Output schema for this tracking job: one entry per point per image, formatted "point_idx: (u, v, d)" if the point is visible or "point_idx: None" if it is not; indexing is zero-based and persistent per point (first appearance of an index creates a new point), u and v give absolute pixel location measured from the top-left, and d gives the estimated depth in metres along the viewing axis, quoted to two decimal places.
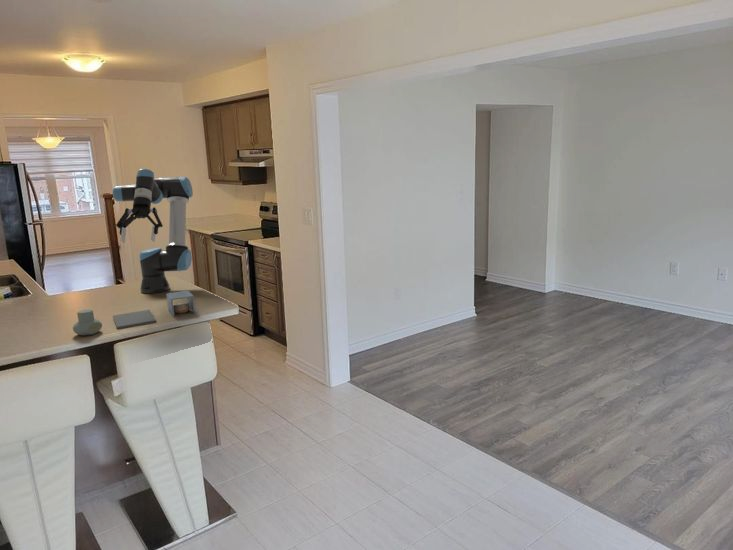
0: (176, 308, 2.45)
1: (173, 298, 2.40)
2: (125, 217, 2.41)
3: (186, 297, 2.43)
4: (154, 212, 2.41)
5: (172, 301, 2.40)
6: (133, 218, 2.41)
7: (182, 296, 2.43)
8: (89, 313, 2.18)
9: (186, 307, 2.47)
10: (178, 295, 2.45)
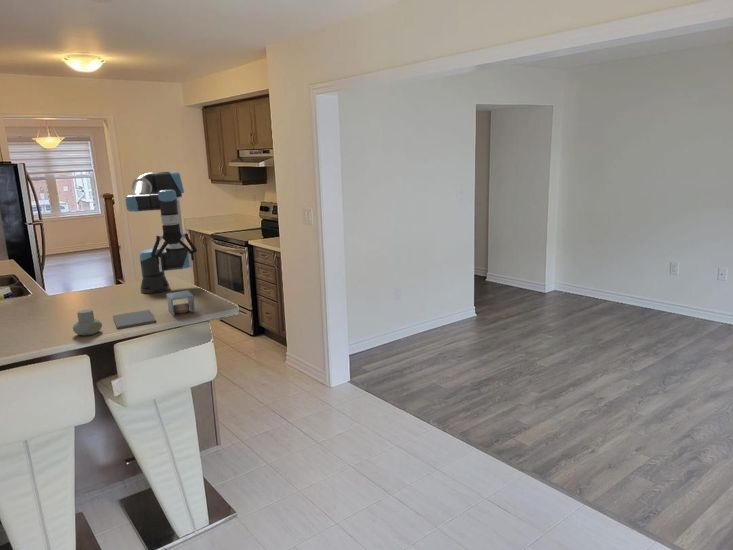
0: (176, 308, 2.45)
1: (173, 298, 2.40)
2: (157, 245, 2.38)
3: (186, 297, 2.43)
4: (188, 239, 2.43)
5: (172, 301, 2.40)
6: None
7: (182, 296, 2.43)
8: (89, 313, 2.18)
9: (186, 307, 2.47)
10: (178, 295, 2.45)
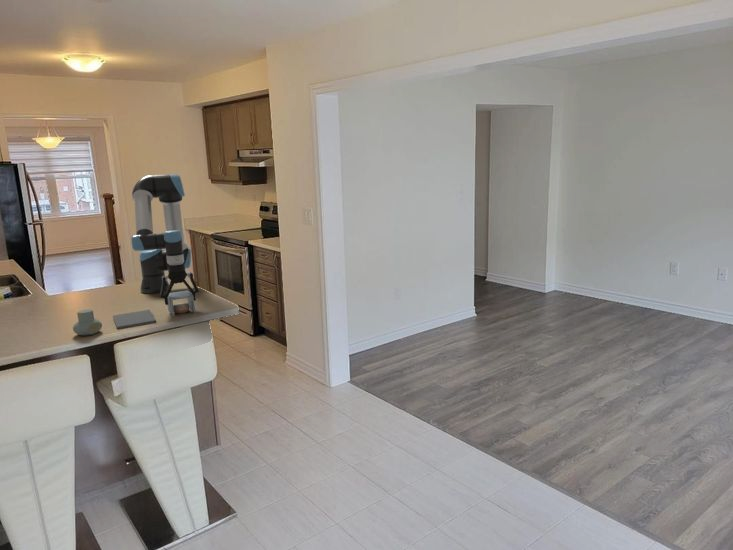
0: (176, 308, 2.45)
1: (173, 298, 2.40)
2: (164, 285, 2.42)
3: (186, 297, 2.43)
4: (192, 279, 2.47)
5: (172, 301, 2.40)
6: None
7: (182, 296, 2.43)
8: (89, 313, 2.18)
9: (186, 307, 2.47)
10: (178, 295, 2.45)
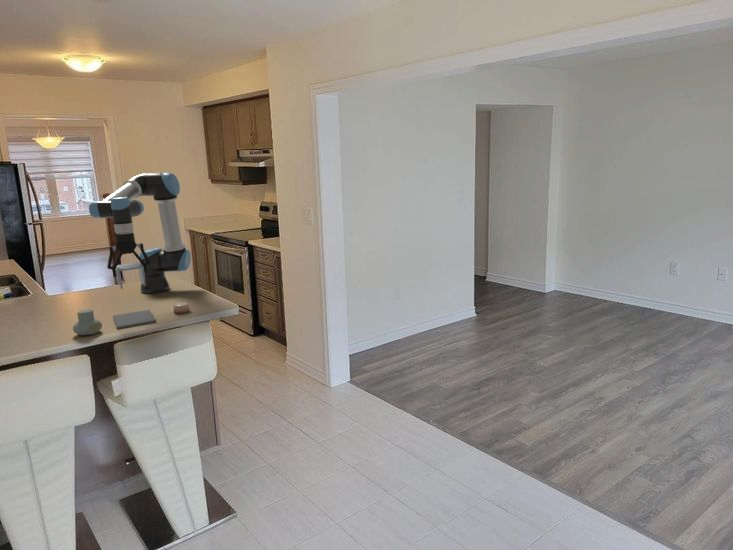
0: (176, 308, 2.45)
1: (121, 269, 2.27)
2: (112, 256, 2.29)
3: (135, 268, 2.29)
4: (142, 249, 2.34)
5: None
6: (121, 255, 2.31)
7: (131, 267, 2.30)
8: (89, 313, 2.18)
9: (186, 307, 2.47)
10: (127, 266, 2.32)
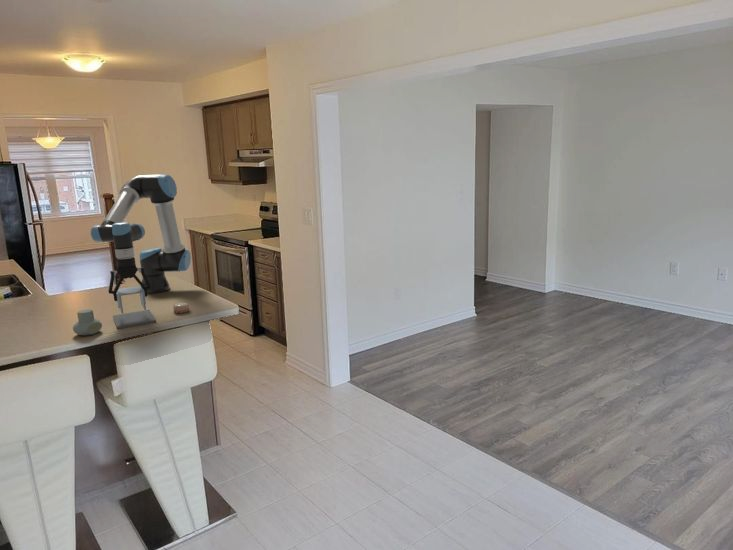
0: (176, 308, 2.45)
1: (122, 294, 2.29)
2: (113, 281, 2.31)
3: (136, 293, 2.31)
4: (143, 273, 2.36)
5: (120, 297, 2.28)
6: None
7: (132, 292, 2.32)
8: (89, 313, 2.18)
9: (186, 307, 2.47)
10: (128, 291, 2.34)
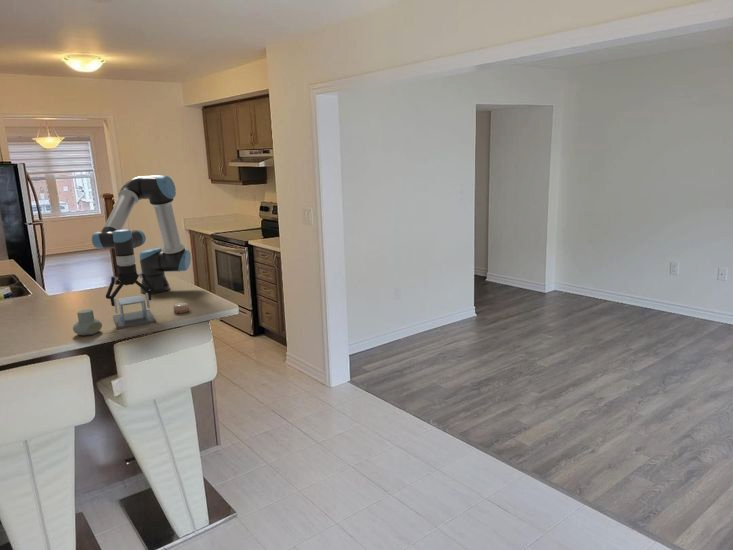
0: (176, 308, 2.45)
1: (123, 303, 2.30)
2: (112, 286, 2.31)
3: (137, 302, 2.32)
4: (144, 279, 2.37)
5: (122, 307, 2.29)
6: None
7: (133, 301, 2.33)
8: (89, 313, 2.18)
9: (186, 307, 2.47)
10: (129, 300, 2.35)
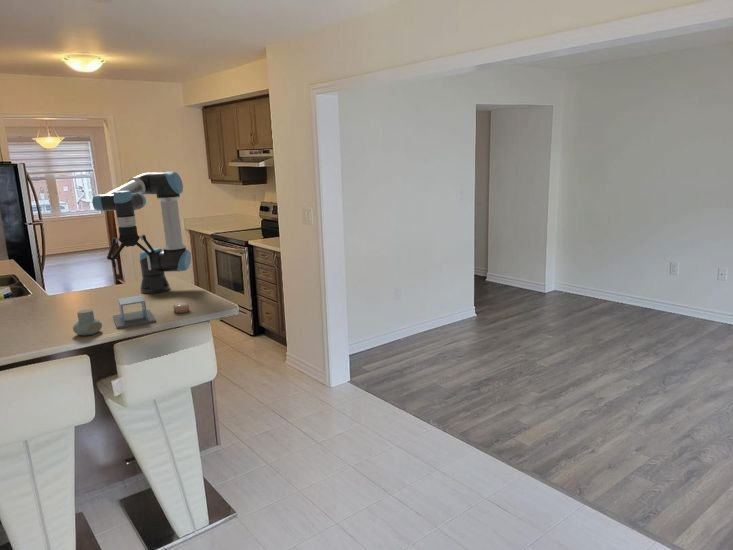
0: (176, 308, 2.45)
1: (123, 303, 2.30)
2: (113, 247, 2.33)
3: (137, 302, 2.32)
4: (145, 240, 2.38)
5: (122, 307, 2.29)
6: (122, 247, 2.35)
7: (133, 301, 2.33)
8: (89, 313, 2.18)
9: (186, 307, 2.47)
10: (129, 300, 2.35)
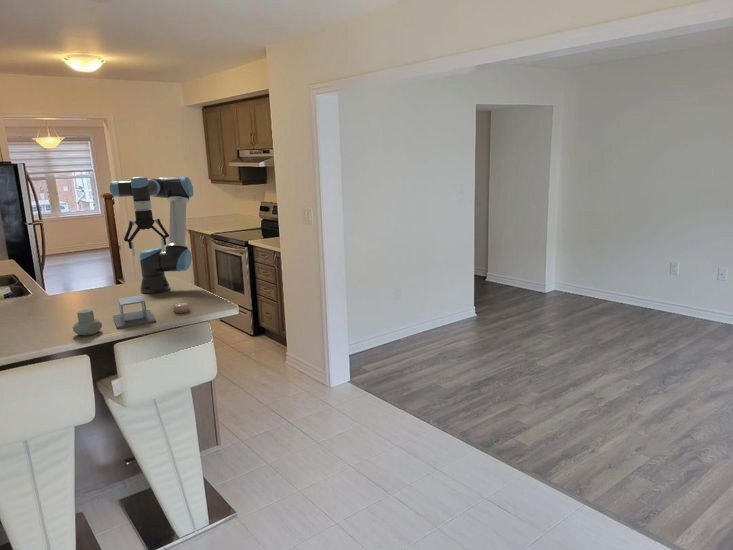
0: (176, 308, 2.45)
1: (123, 303, 2.30)
2: (130, 230, 2.47)
3: (137, 302, 2.32)
4: (160, 224, 2.53)
5: (122, 307, 2.29)
6: (138, 230, 2.49)
7: (133, 301, 2.33)
8: (89, 313, 2.18)
9: (186, 307, 2.47)
10: (129, 300, 2.35)
